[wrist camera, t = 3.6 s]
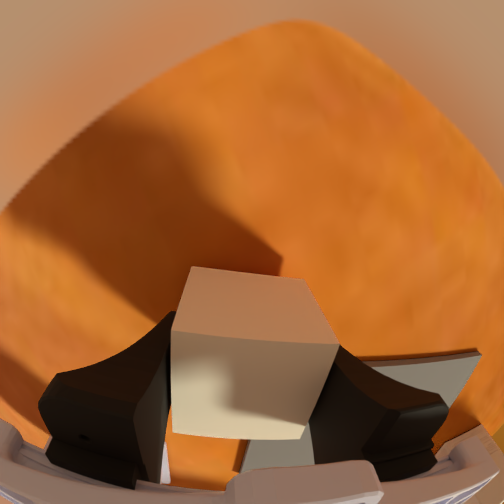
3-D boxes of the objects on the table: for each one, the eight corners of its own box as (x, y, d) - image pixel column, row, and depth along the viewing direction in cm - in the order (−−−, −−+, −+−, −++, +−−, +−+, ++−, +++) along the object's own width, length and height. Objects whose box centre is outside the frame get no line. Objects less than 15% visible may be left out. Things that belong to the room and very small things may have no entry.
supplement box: (420, 471, 25) (451, 537, 13) (444, 441, 22) (486, 514, 10) (458, 453, 25) (492, 511, 13) (483, 422, 23) (525, 483, 11)
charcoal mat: (238, 473, 20) (238, 478, 19) (269, 360, 16) (271, 366, 15) (408, 453, 22) (410, 457, 21) (478, 351, 18) (482, 355, 17)
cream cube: (185, 356, 14) (172, 432, 9) (191, 266, 13) (170, 330, 8) (281, 364, 15) (299, 439, 10) (303, 279, 13) (339, 344, 8)
